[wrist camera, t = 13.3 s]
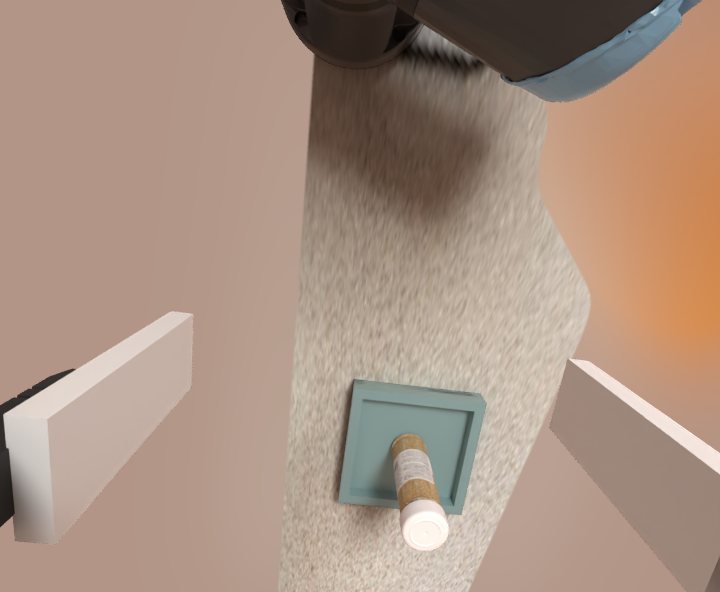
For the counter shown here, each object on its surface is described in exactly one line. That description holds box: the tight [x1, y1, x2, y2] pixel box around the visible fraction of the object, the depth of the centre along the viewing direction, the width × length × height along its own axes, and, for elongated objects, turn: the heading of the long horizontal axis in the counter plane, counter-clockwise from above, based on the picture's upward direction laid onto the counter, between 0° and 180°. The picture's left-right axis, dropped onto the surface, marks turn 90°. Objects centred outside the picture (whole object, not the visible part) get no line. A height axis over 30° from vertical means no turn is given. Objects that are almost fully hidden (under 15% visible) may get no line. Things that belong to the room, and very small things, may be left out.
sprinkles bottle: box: [391, 433, 449, 551], centre depth 44 cm, size 5×5×13 cm
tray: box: [338, 379, 486, 515], centre depth 51 cm, size 16×16×2 cm
